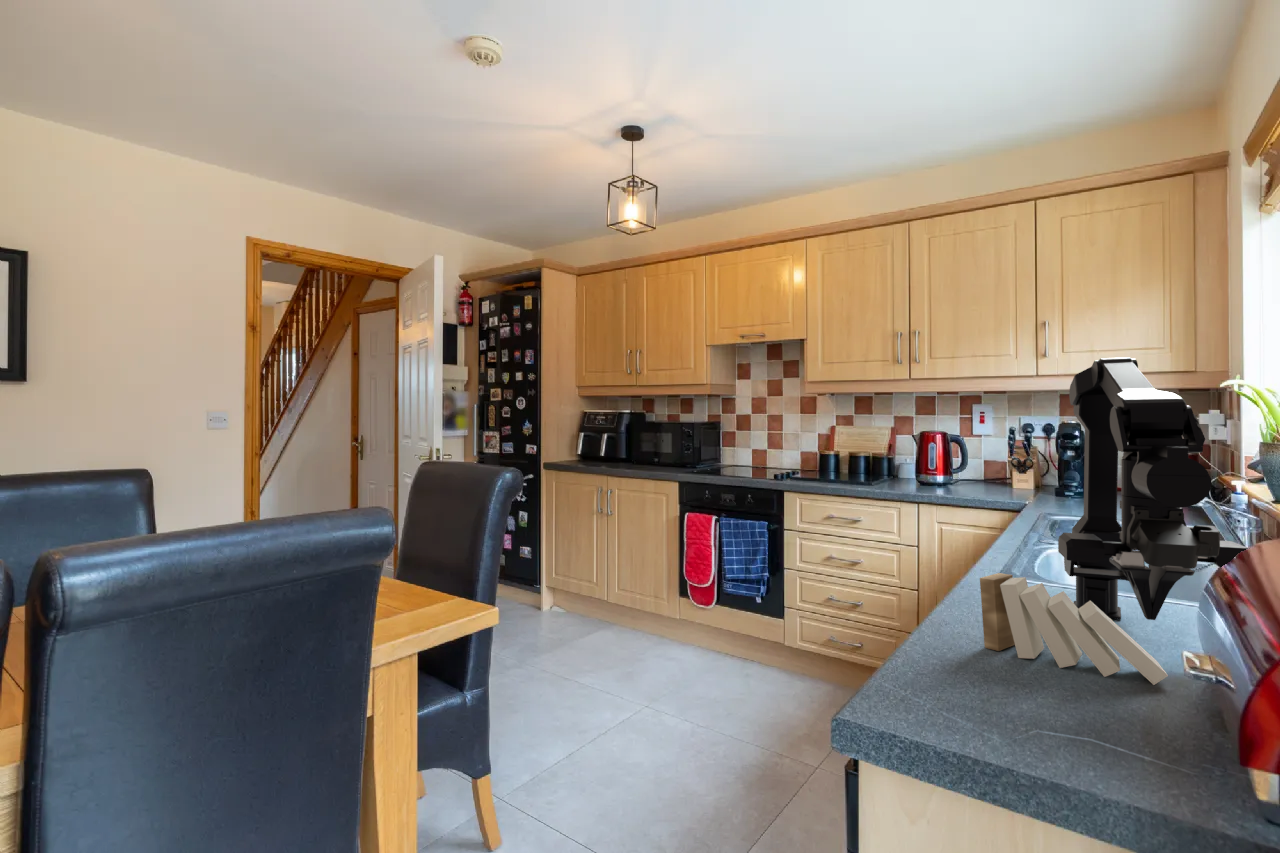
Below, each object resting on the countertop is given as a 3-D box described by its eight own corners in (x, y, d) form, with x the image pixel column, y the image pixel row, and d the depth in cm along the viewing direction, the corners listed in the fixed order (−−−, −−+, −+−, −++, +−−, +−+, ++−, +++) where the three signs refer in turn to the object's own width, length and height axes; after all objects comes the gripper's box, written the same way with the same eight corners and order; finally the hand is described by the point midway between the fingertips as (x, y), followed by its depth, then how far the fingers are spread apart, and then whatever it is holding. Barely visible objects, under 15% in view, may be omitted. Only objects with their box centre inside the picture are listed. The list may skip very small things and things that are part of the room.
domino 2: (1018, 657, 86) (999, 584, 87) (1028, 648, 89) (1010, 578, 91) (1034, 658, 84) (1015, 584, 86) (1044, 648, 88) (1025, 577, 89)
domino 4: (1104, 677, 79) (1047, 607, 83) (1103, 663, 83) (1049, 597, 87) (1120, 670, 78) (1062, 600, 82) (1118, 657, 82) (1063, 591, 86)
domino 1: (984, 647, 90) (979, 577, 90) (1003, 640, 92) (998, 572, 93) (998, 651, 88) (993, 580, 88) (1017, 643, 90) (1012, 574, 91)
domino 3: (1059, 668, 82) (1019, 595, 85) (1066, 656, 86) (1027, 587, 89) (1075, 664, 81) (1034, 590, 84) (1082, 653, 84) (1042, 583, 88)
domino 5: (1153, 685, 77) (1083, 620, 80) (1143, 670, 81) (1077, 609, 84) (1168, 675, 76) (1097, 611, 79) (1156, 661, 80) (1090, 600, 84)
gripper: (1077, 501, 75) (1077, 630, 75) (1283, 509, 67) (1282, 651, 68) (1057, 490, 85) (1057, 604, 85) (1234, 496, 77) (1233, 620, 78)
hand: (1149, 618), depth 79 cm, fingers closed
